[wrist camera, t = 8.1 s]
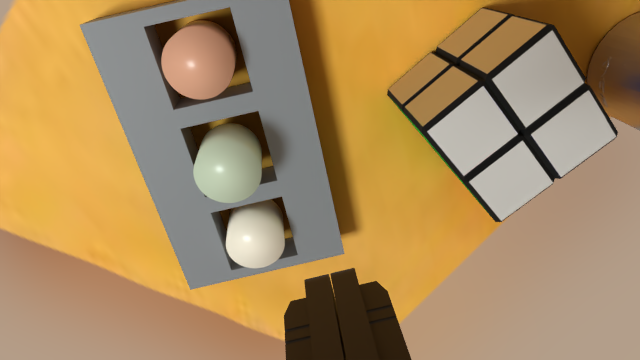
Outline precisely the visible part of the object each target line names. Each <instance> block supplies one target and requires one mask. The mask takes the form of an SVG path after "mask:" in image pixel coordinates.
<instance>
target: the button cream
mask: <svg viewBox="0 0 640 360" xmlns="http://www.w3.org/2000/svg"><path fill="white" fill-rule="evenodd" d="M284 247H285V239H284V225H283V214H282V211H281V209H280V207H279V206H278V205H277V204H276V203H275V202H274V201H272V200H271V199H269V200H264V201H260V202H256V203H252V204H247V205H243V206H239V207H234V208H232V209H231V212H230V215H229V222H228V229H227V237H226V249H227V252H228V254H229V256H230V257H231V258H232V260H234V261H235V262H236V263H238V264H239V265H241V266H244V267H248V268H262V267H266V266H269V265H271V264H272V263H274V262H275V261H277V260H278V259H279V257H280V256H281V255H282V253H283V251H284Z"/></svg>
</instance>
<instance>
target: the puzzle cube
mask: <svg viewBox="0 0 640 360" xmlns="http://www.w3.org/2000/svg"><path fill="white" fill-rule="evenodd" d="M585 79H586V78H585V76H584V75H583V73H582V71H581V70H580V68H579V66H578V65H577V63H576V61H575V60H574V58H573V56H572V55H571V53H570V51H569V50H568V48H567V46H566V45H565V43H564V41H563V40H562V38H561V36H560V34H559V33H558V31H557V29H556V28H555V26H554V25H551V24H547V23H543V22H539V21H535V20H531V19H528V18H524V17H520V16H515V15H513V14H509V13H504V12H500V11H496V10H492V9H488V8H481V9H480V10H479V11H478V12H477V13H475V14H474V15H473V16H472V17H471V18H470V19H469V20H467V21H466V22H465V23H464V24H463V25H462V26H460V27H459V28H458V29H457V30H456V31H455V32H454V33H452V34H451V35H450V36H449V37H448V38H447V39H445V40H444V41H443V42H442V43H441V44H440V45H439V46H437V50H436V53H429V54H428V55H427V56H426V57H425V58H423V59H422V60H421V61H420V62H419V63H418V64H417V65H415V66H414V67H413V68H412V69H411V70H410V71H408V72H407V73H406V74H405V75H404V76H403V77H402V78H400V79H399V80H398V81H397V82H396V83H395V84H393V85H392V86H391V87H390V88H389V89H388V94H387V95H388V96H389V97H390V98H391V100H392V101H393V102H394V103H395V104H396V105H397V107H398V108H399V109H400V110H401V111H402V113H403V114H404V115H405V116H406V117H407V118H408V120H409V121H410V122H411V123H412V124H413V126H414V127H415V128H416V129H417V130H418V132H419V133H420V134H421V135H422V136H423V137H424V138H425V140H426V141H427V142H428V143H429V144H430V145H431V147H432V148H433V149H434V150H435V151H436V153H437V154H438V155H439V156H440V157H441V159H442V160H443V161H444V162H445V163H446V164H447V166H448V167H449V168H450V169H451V170H452V172H453V173H454V174H455V175H456V176H457V177H458V179H459V180H460V181H461V182H462V183H463V184H464V185H465V187H466V188H467V189H468V190H469V191H470V192H471V194H472V195H473V196H474V197H475V198H476V200H477V201H478V202H479V203H480V204H481V205H482V206H483V208H484V209H485V210H486V211H487V212H488V213H489V215H490V216H491V217H492V218H493V219H494V220H495V222H502V221H503V220H505V219H506V218H507V217H509V216H510V215H511V214H513V213H514V212H516V211H517V210H518V209H520V208H521V207H522V206H524V205H525V204H526V203H527V202H529V201H530V200H532V199H533V198H535V197H536V196H537V195H538V194H540V193H541V192H543V191H544V190H545V189H547V188H548V187H550V186H551V185H552V184H553V182H554V179H555V178H559V179H560V178H562V177H563V176H565V175H566V174H567V173H569V172H570V171H572V170H573V169H574V168H576V167H577V166H578V165H580V164H581V163H582V162H584V161H585V160H587V159H588V158H589V157H591V156H592V155H593V154H595V153H596V152H597V151H599V150H600V149H602V148H603V147H604V146H606V145H607V144H608V143H610V142H611V141H612V140H614V139H615V138H616V137H617V133H618V132H617V130H616V128H615V127H614V125H613V123H612V122H611V120H610V118H609V117H608V115H607V113H606V112H605V110H604V108H603V106H602V105H601V103H600V101H599V100H598V98H597V96H596V95H595V93H594V91H593V90H592V88H591V86H590V85H588V84H585V83H584V82H585Z"/></svg>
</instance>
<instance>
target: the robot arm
mask: <svg viewBox="0 0 640 360" xmlns="http://www.w3.org/2000/svg"><path fill="white" fill-rule="evenodd" d="M587 84H588V85H590V86H591V88H592V90H593V91H594V93H595V95H596V96H597V98H598V100H599V101H600V103H601V105H602V106H603V108H604V110H605V112H606V113H607V115H609V116H611V117H613V118H615V119H617V120H619V121H622V122H624V123H626V124H628V125H630V126H632V127H634V128H636V129H637V130H640V12H638V13H636V14H633V15H631V16H629V17H627V18H626V19H624V20H623V21H621V22H620V23H618V24H617V25H616V26H615V27H614V28H613V29H612V30H610V31H609V32H608V33H607V35H606V36H605V37H604V38H603V40H602V41H601V42H600V43H599V45H598V47H597V49H596V50H595V52H594V54H593V56H592V59H591V62H590V65H589V69H588V75H587ZM331 279H332V284H333V288H332V285H331V281H330V277H329V274H327V275H323V276H318V277H314V278H310V279H306V280H305V290H306V298H303V299H298V300H294V301H291V302H290V304H289V306H288V308H287V310H286V313H285V315H284V324H285V343H286V345H285V346H286V360H411V357H410V354H409V352H408V349H407V346H406V343H405V340H404V337H403V334H402V332H401V329H400V326H399V323H398V320H397V318H396V314H395V311H394V309H393V306H392V303H391V300H390V297H389V294H388V291H387V290H386V289H385V288H383V287H382V286H381V285H380V284H379V283H378V282H377V281H374V282H370V283H366V284H361V285H359V283H358V279H357V276H356V272H355V269H354V268H352V269H347V270H343V271H339V272H335V273H331ZM333 289H334V292H333ZM334 294H335V296H334Z"/></svg>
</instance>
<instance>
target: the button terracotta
mask: <svg viewBox="0 0 640 360" xmlns="http://www.w3.org/2000/svg"><path fill="white" fill-rule="evenodd" d="M236 60H237V50H236V46H235V43H234V41H233V39H232V37H231V36H230V34H229V33H228V32H227V31H226V30H225V29H224V28H223V27H221V26H220V25H218V24H216V23H213V22H210V21H205V20H198V21H193V22H190V23H188V24H186V25H185V26H183V27H182V28H181V29H180V30H179V31H178V32H176V33H175V34H174V35H173V36H172V37H171V38H170V39H169V40H168V42H167V43H166V45H165V47H164V49H163V52H162V58H161V64H162V70H163V73H164V75H165V78H166V79H167V81H168V82H169V84H170V85H171V86H172V87H173V88H174V89H175V90H176V91H177V92H179V93H180V94H182V95H184V96H186V97H189V98H192V99H199V100H201V99H209V98H213V97H215V96H217V95H219V94H220V93H222V92H223V91H224V90H225V89H226V88H227V87H228V85H229V84H230V82H231V80H232V77H233V73H234V69H235V65H236Z"/></svg>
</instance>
